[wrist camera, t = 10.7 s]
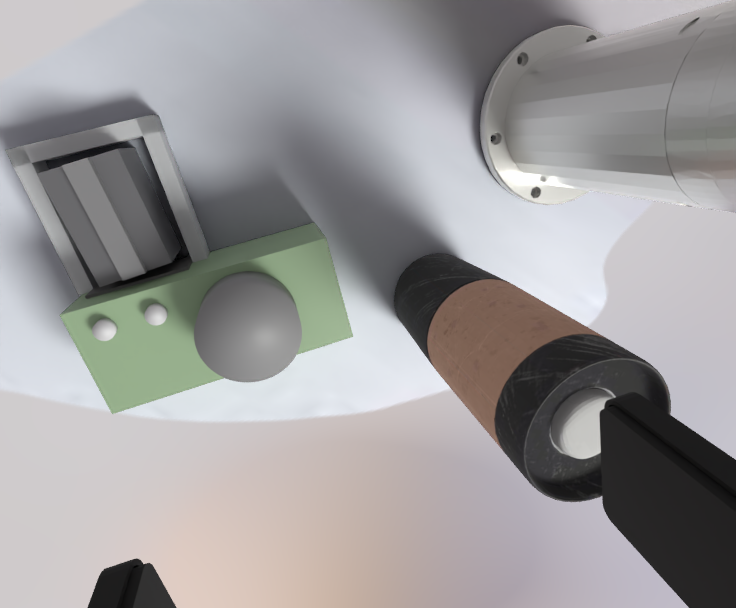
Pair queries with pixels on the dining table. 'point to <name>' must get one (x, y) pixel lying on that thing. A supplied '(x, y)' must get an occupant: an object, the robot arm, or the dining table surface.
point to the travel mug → (522, 370)
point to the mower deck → (188, 290)
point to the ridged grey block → (112, 214)
